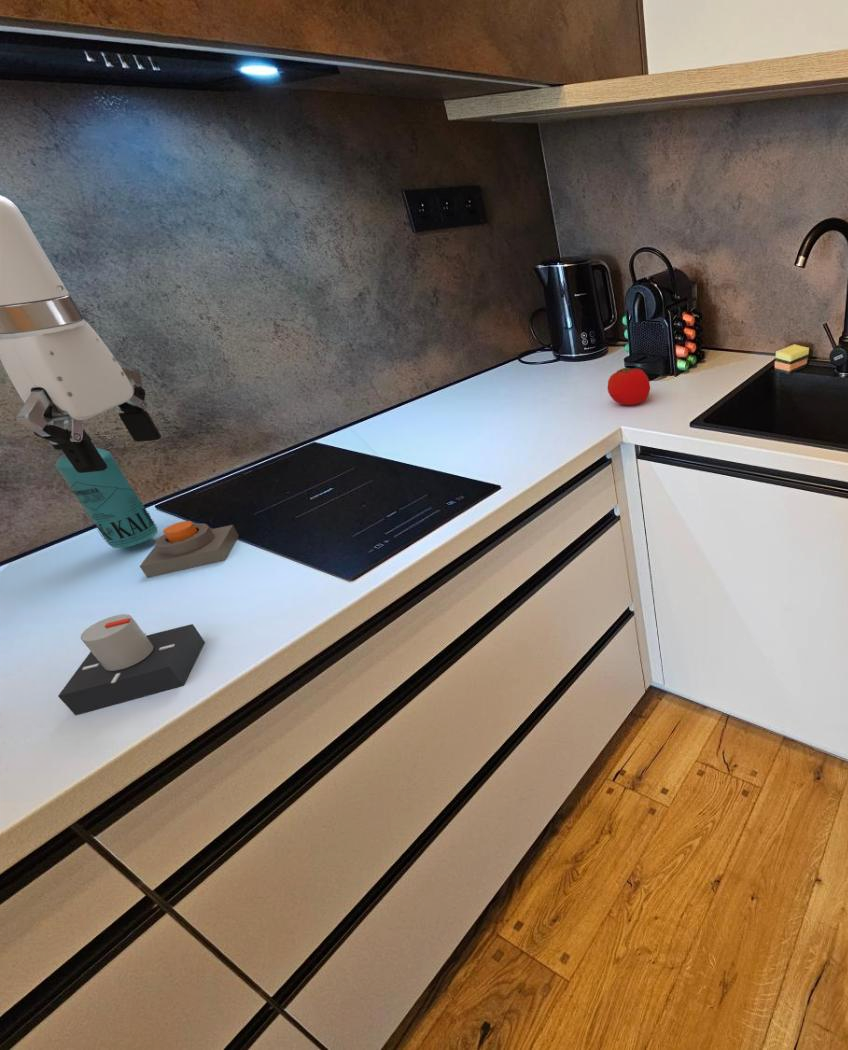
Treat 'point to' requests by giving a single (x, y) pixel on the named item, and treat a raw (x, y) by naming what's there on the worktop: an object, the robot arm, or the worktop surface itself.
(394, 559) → the worktop surface
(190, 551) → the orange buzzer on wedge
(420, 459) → the worktop surface
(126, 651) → the dial
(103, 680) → the black angular plate
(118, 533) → the beverage bottle
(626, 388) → the tomato
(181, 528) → the lid button
